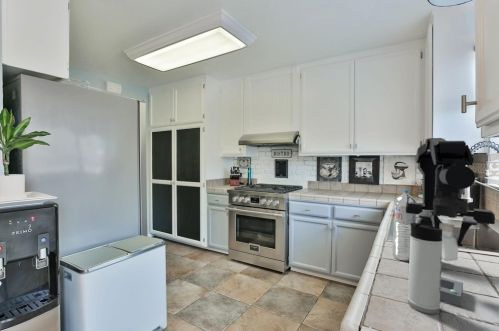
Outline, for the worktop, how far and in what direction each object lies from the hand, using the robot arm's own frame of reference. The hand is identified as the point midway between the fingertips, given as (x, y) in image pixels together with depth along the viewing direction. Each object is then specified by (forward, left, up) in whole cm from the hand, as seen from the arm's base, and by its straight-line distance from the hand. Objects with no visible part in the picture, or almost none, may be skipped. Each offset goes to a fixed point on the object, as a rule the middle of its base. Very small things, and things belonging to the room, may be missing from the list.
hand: (446, 243), depth 70 cm
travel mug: (+15, -3, -13) cm, 20 cm away
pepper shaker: (0, 0, -4) cm, 4 cm away
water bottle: (-19, -14, -13) cm, 26 cm away
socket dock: (+3, -1, -13) cm, 13 cm away
